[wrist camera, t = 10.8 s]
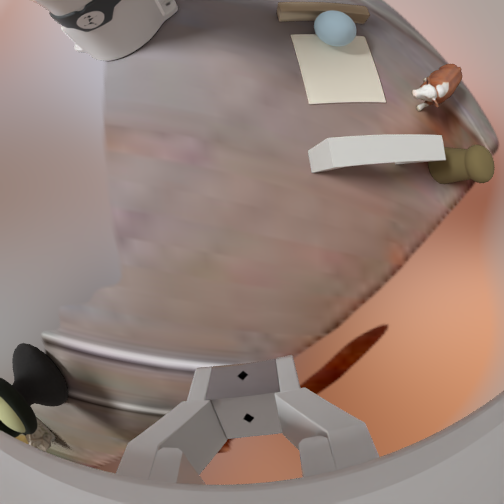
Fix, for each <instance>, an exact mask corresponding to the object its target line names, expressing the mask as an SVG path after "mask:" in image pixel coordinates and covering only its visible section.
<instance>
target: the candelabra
mask: <svg viewBox="0 0 504 504" xmlns="http://www.w3.org/2000/svg"><path fill="white" fill-rule="evenodd" d="M13 372H14V380H15V381H14V383H13V385H11V384H10V383H8V382H7V381H5V380H4V379H2V378H0V430H1V431H3V432H5V433H6V434H8V435H10V436H12V437H14V438H16V439H18V440H20V441H22V442H24V443H26V444H28V441H27V439H26V437H25V436H26V435H27V434H33V433H34V432H35V431H36V430H37V426H38V423H37V419H36V416H35V414H34V412H33V410H32V408H31V407H30V406H31V405H32V404H34V403H36V404H41V405H45V406H59V405H62V404H63V403H64V402H66V400H67V398H68V390H67V385H66V383H65V380H64V378H63V376H62V374H61V373H60V371H59V369H58V368H57V367H56V366H55V364H54V363H53V361H52V360H51V359H50V358H48V357H47V355H46V354H45V353H44V352H42V351H40V350H39V349H38V348H37V347H34V346H32V345H30V344H24V343H23V344H19V345H18V346H17V348H16V349H15V351H14V354H13Z"/></svg>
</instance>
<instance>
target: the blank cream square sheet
mask: <svg viewBox="0 0 504 504" xmlns="http://www.w3.org/2000/svg"><path fill="white" fill-rule="evenodd" d="M290 36H291V39H292V42H293V45H294V49H295V52H296V56H297V59H298V63H299V66H300V70H301V74H302V78H303V81H304V85H305V89H306V93H307V97H308V102H309V105H310V104H324V103H349V102H380V103H386V100H385V97H384V93H383V90H382V86H381V83H380V79H379V76H378V73H377V70H376V67H375V64H374V61H373V58H372V55H371V52H370V50H369V47H368V44H367V42H366V39H365V36H355V38H354V40H353V41H352V42H351V43H349V44H347V45H345V46H331V45H328V44H326V43H324V42H323V41H322V40H320V39H319V37H318V36H317V35H316V34H296V35H290Z"/></svg>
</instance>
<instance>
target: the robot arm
mask: <svg viewBox="0 0 504 504" xmlns="http://www.w3.org/2000/svg"><path fill="white" fill-rule="evenodd" d="M31 1H33V2H35V3H37V4H39V5H40V6H42V7H44V8H45V9H46V10H48V11H49V12H50V15H51V17H52V18H53V19H54V20H55V21H56V22H57V23H59V24H61V25H62V28H61V29H62V31H63V32H64V33H65V34H66V35H67V36H68V37H69V38H70V39H71V40H72V41H73V42H75V50H76V51H78V52H81V53H88V54H89V55H90V56H91V57H92V58H94V59H96V60H100V61H110V60H115V59H118V58H121V57H124V56H126V55H128V54H130V53H132V52H134V51H135V50H137V49H138V48H140V47H141V46H143V45H144V44H145V43H146V42H147V41H149V40H150V39H151V38H152V37H153V35H154V34H155V33H156V32H157V31H158V29H159V28H160V26H161V25H162V24H163V22H164V21H165V20H167V19H168V18H169V17H171V16H172V15H173V14H175V13H176V12H177V10H178V6H177V4H176V1H175V0H31ZM167 5H168V6H167ZM278 433H283V435H284V436H285V437H286V438H287V439H288V440H289V441H290V442H291V443H292V444H293V445H294V446H296V448H298V450H299V451H300V459H301V468H302V476H303V477H302V478H296V479H290V480H283V481H275V482H266V483H256V484H236V485H206V484H205V483H204V481H203V480H202V479H201V477H200V476H199V474H200V473H201V472H202V470H204V468H205V467H206V466H207V465H208V464H209V462H210V461H211V460H212V459H213V457H214V456H215V455H216V454H217V452H218V451H219V450H220V449H221V447H222V446H223V445H224V443H225V442H226V441H227V439H230V438H241V437H250V436H259V435H269V434H278ZM0 504H504V391H503V392H501V393H500V394H499V395H497V396H496V397H495V398H493V399H492V400H490V401H489V402H488V403H486V404H485V405H483V406H482V407H480V408H479V409H477V410H476V411H474V412H472V413H471V414H469V415H468V416H466V417H464V418H463V419H461V420H459V421H458V422H456V423H454V424H452V425H451V426H449V427H447V428H445V429H443V430H441V431H439V432H437V433H435V434H433V435H431V436H429V437H427V438H425V439H423V440H421V441H419V442H416V443H414V444H412V445H410V446H407V447H405V448H402V449H400V450H398V451H395V452H393V453H390V454H387V455H384V456H382V457H379V455H378V453H377V450H376V448H375V445H374V443H373V441H372V438H371V436H370V433H369V431H368V429H367V427H366V424H365V423H364V422H363V421H361V420H359V419H357V418H355V417H354V416H352V415H350V414H348V413H347V412H345V411H343V410H341V409H340V408H338V407H336V406H335V405H333V404H331V403H329V402H328V401H326V400H325V399H323V398H321V397H320V396H318V395H316V394H315V393H313V392H312V391H310V390H308V389H307V388H300V385H299V380H298V376H297V372H296V368H295V363H294V359H293V356H292V355H289V356H284V357H280V358H276V359H271V360H265V361H259V362H253V363H246V364H234V365H224V366H213V367H201V368H197V369H196V370H195V374H194V377H193V381H192V385H191V388H190V392H189V395H188V399H187V401H182V402H181V403H180V404H179V405H177V406H176V407H175V408H174V409H172V410H171V411H170V412H169V413H167V414H166V415H165V416H163V417H162V418H161V419H160V420H158V421H157V422H156V423H154V424H153V425H152V426H150V427H149V428H148V429H146V430H145V431H144V432H142V433H141V434H140V435H138V436H137V437H136V438H134V439H133V440H131V441H130V442H129V443H128V445H127V447H126V450H125V452H124V455H123V457H122V460H121V462H120V465H119V467H118V469H117V472H116V474H114V473H110V472H106V471H102V470H98V469H94V468H91V467H87V466H84V465H81V464H77V463H74V462H71V461H68V460H66V459H63V458H60V457H57V456H55V455H52V454H49V453H47V452H44V451H42V450H40V449H37V448H35V447H33V446H31V445H28V444H26V443H24V442H22V441H20V440H18V439H16V438H14V437H12V436H10V435H8V434H6V433H5V432H3V431H1V430H0Z"/></svg>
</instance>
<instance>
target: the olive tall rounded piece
mask: <svg viewBox="0 0 504 504" xmlns="http://www.w3.org/2000/svg"><path fill="white" fill-rule="evenodd" d="M444 151H445V157H446V160H440V161H429V162H428V167H429V170H430V173H431V175H432V177H433V178H434V179H435V180H436V181H437V182H438V183H440V184H446V183H452V182H458V181H463V180H469V179H472V180H474V181H475V182H478V183H485V182H488V181H489V180H490V179H491V178H492V177H493V174H494V161H493V158H492V155H491V153H490V152H489V150H488V149H486V148H485V147H484V146H481V145H473V146H471V147H469V148H468V149H459V148H447V147H444Z"/></svg>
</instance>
